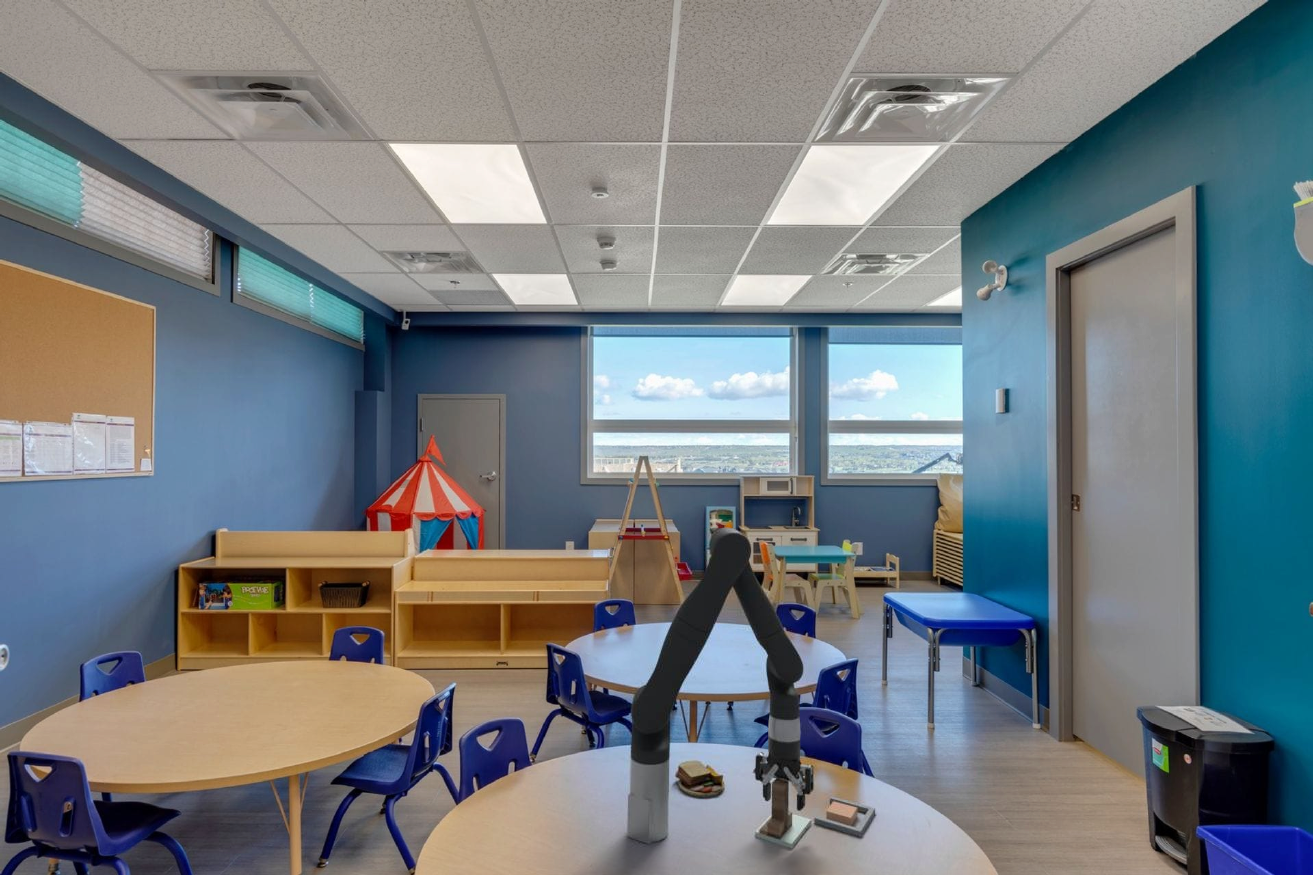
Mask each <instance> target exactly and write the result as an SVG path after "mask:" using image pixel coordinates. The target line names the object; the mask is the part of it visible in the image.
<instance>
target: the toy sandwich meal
mask: <svg viewBox="0 0 1313 875" xmlns="http://www.w3.org/2000/svg"><path fill="white" fill-rule="evenodd" d="M675 778H677V779H678V782H677V783H678V787H679V788H680V789H681V790H682V791H683V790H684V791H685V793H686V792H687V793H686V794H688V793H689V795H690V794H692V795H691V796H694V795H695V796H694V797H700V796H702V798H703V797H706V798H707V797H712V796H716V795H718V794H719V792H720V793H721V791H723V790H724V789H725V786H726V784H725V781H723V780H724V779H723V778H724V775H723V774H719V773H718V772H716V771H715V770H714V769H713V768H712V766H710V765H709V764H706V766H705V765H704V764H703V763H702V761H701V760H687V761H684V762H681V763H678V768H677V771H676V772H675ZM684 791H683V792H684Z"/></svg>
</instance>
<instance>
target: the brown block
mask: <svg viewBox="0 0 1313 875" xmlns="http://www.w3.org/2000/svg"><path fill="white" fill-rule="evenodd" d="M789 783H790V781H787V780H783V779H778V778H774V780H773V781H772V782H771V814H772V816H771V818H770V819H769V820H768V821H767V822H766V823H765V824H764V825H763V826H762V827H761V828H760V829H759V833H760V834H763V835H766V836H770V837H773V838H776V839H779V840H780V839H781V837H782V836H783V835H784V834H785V833H786V831H787V830H788V829H789V828H790V827H791V826H792V814H793V811H791V810H789V804H790V803H789V795H790V794H789V790H790V789H789V788H790V787H789V785H790V784H789Z"/></svg>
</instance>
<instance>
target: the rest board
mask: <svg viewBox="0 0 1313 875" xmlns="http://www.w3.org/2000/svg"><path fill="white" fill-rule="evenodd" d="M771 816H772V813H771V814H770V815H769V816H768V817H767V819H765V820H764V821H763V823H761V825H760V826H759V827H758V828H757V829H756V830H755V831H754V837H756V838H759V839H762V840H765V841H768V842H772V843H774V844H777V845H780V846H783V847H785V848H786V847H787V848H789V849H793V847H794V846H795V845H796V844H797V842H798V841H799V840H800V838H801V837H802V836H803V835H804V834H805V832H806V831H807V830H808V829H809V827H810V826H811V824H812V819H811V818H808V817H803V816H800V815H797V814H794V813H792V826H791V827H790V828H789V829H788V830H787V831H786V833H785V834H784V835H783V836H782V837H781V839H780V840H779V839H776V838H773V837H770V836H766V835H763V834H760V833H759V829H760V828H761V827H762V826H763V825H764V824H765V823H766V822H767V821H768V820H769V819H770V818H771ZM806 829H807V830H806Z"/></svg>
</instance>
